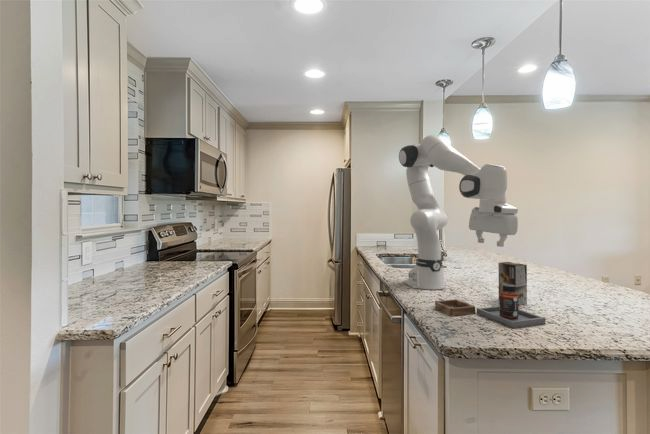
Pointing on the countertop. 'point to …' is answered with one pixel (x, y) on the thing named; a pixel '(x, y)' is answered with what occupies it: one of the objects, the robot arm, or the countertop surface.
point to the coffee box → (514, 278)
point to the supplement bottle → (509, 302)
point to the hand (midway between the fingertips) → (490, 244)
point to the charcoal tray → (521, 321)
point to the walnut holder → (461, 310)
